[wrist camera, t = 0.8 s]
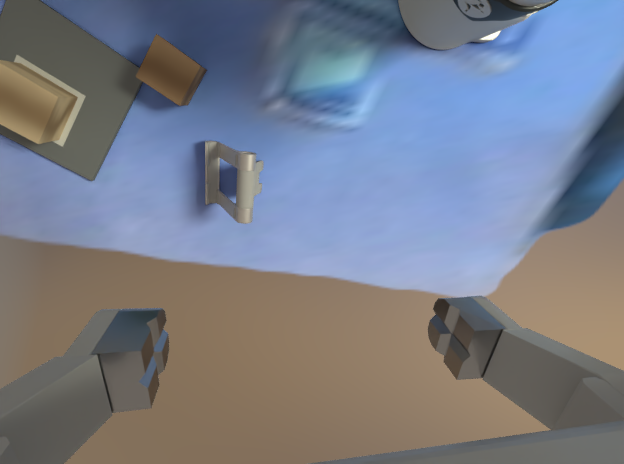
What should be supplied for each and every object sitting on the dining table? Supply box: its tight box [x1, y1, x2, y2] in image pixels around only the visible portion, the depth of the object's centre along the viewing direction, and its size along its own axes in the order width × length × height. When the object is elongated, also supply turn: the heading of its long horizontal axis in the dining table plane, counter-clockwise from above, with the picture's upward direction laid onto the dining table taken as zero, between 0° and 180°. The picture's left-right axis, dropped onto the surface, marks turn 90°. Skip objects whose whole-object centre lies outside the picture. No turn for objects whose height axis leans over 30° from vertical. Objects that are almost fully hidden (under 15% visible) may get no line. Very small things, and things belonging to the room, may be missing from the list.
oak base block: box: [0, 60, 78, 144], centre depth 34 cm, size 6×6×4 cm
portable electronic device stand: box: [205, 141, 263, 224], centre depth 40 cm, size 9×8×8 cm
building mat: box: [0, 0, 143, 181], centre depth 36 cm, size 16×14×1 cm
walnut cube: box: [136, 34, 207, 106], centre depth 35 cm, size 5×5×5 cm
